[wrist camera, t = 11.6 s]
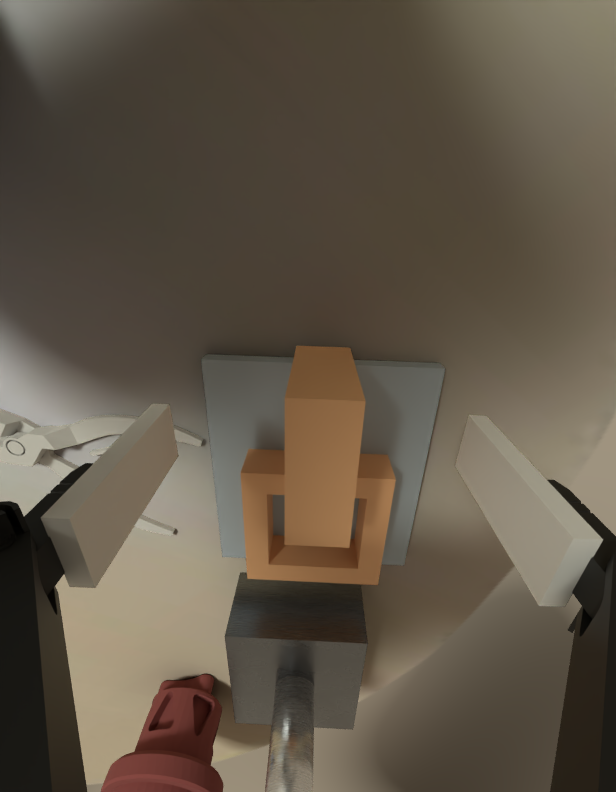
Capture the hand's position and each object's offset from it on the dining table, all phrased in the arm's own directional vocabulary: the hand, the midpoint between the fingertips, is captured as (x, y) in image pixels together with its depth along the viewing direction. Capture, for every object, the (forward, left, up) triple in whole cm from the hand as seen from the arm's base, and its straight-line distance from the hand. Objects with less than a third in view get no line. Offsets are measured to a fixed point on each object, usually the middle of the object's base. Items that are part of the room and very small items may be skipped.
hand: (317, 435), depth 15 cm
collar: (+5, 0, -5) cm, 8 cm away
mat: (+6, 0, -6) cm, 9 cm away
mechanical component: (+35, -12, -6) cm, 38 cm away
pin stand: (+23, -1, -6) cm, 24 cm away
